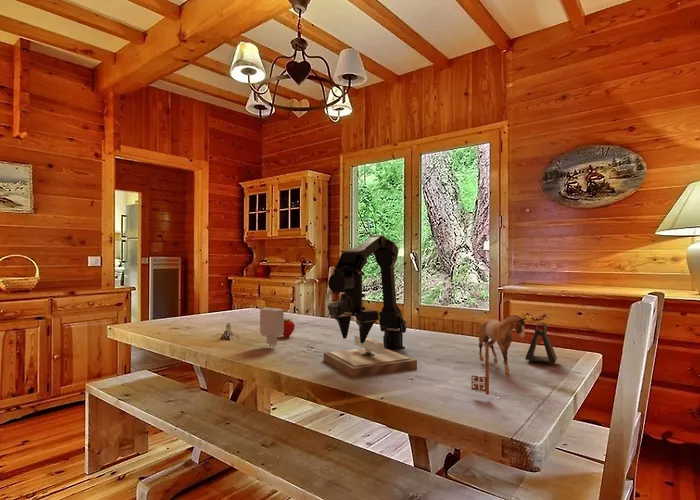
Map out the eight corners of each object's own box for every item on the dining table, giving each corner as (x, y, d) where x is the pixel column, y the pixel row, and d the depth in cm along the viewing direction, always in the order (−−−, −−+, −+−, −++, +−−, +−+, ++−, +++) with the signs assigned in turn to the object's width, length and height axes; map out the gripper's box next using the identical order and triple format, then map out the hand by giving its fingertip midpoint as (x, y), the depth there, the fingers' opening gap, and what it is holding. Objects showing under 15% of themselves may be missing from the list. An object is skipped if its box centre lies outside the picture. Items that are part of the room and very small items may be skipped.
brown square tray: (380, 353, 147) (380, 344, 147) (417, 368, 127) (416, 358, 127) (323, 360, 137) (323, 350, 137) (353, 377, 117) (353, 366, 117)
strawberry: (288, 340, 169) (288, 316, 169) (275, 338, 173) (275, 315, 173) (298, 338, 174) (298, 314, 174) (284, 336, 178) (284, 313, 178)
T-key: (354, 348, 139) (354, 335, 139) (359, 348, 140) (359, 334, 140) (378, 359, 124) (378, 344, 124) (383, 358, 125) (383, 343, 125)
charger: (275, 352, 149) (275, 310, 149) (258, 348, 155) (258, 308, 155) (285, 349, 153) (284, 309, 153) (268, 346, 158) (268, 307, 159)
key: (471, 392, 104) (470, 332, 104) (471, 391, 105) (471, 332, 105) (495, 396, 101) (494, 334, 102) (495, 394, 102) (495, 334, 102)
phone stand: (557, 359, 138) (556, 323, 138) (555, 363, 132) (554, 325, 133) (527, 355, 142) (527, 321, 143) (525, 359, 137) (524, 323, 137)
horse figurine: (528, 378, 116) (528, 316, 116) (506, 379, 115) (505, 317, 116) (489, 356, 142) (488, 305, 142) (471, 356, 141) (470, 306, 142)
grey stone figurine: (249, 341, 171) (249, 322, 171) (231, 344, 165) (231, 325, 165) (236, 338, 177) (236, 320, 177) (218, 341, 170) (218, 322, 170)
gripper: (315, 290, 132) (315, 339, 131) (349, 294, 117) (349, 349, 116) (344, 288, 138) (344, 335, 138) (380, 292, 123) (380, 344, 123)
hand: (353, 340), depth 129 cm, fingers open, 9 cm apart
